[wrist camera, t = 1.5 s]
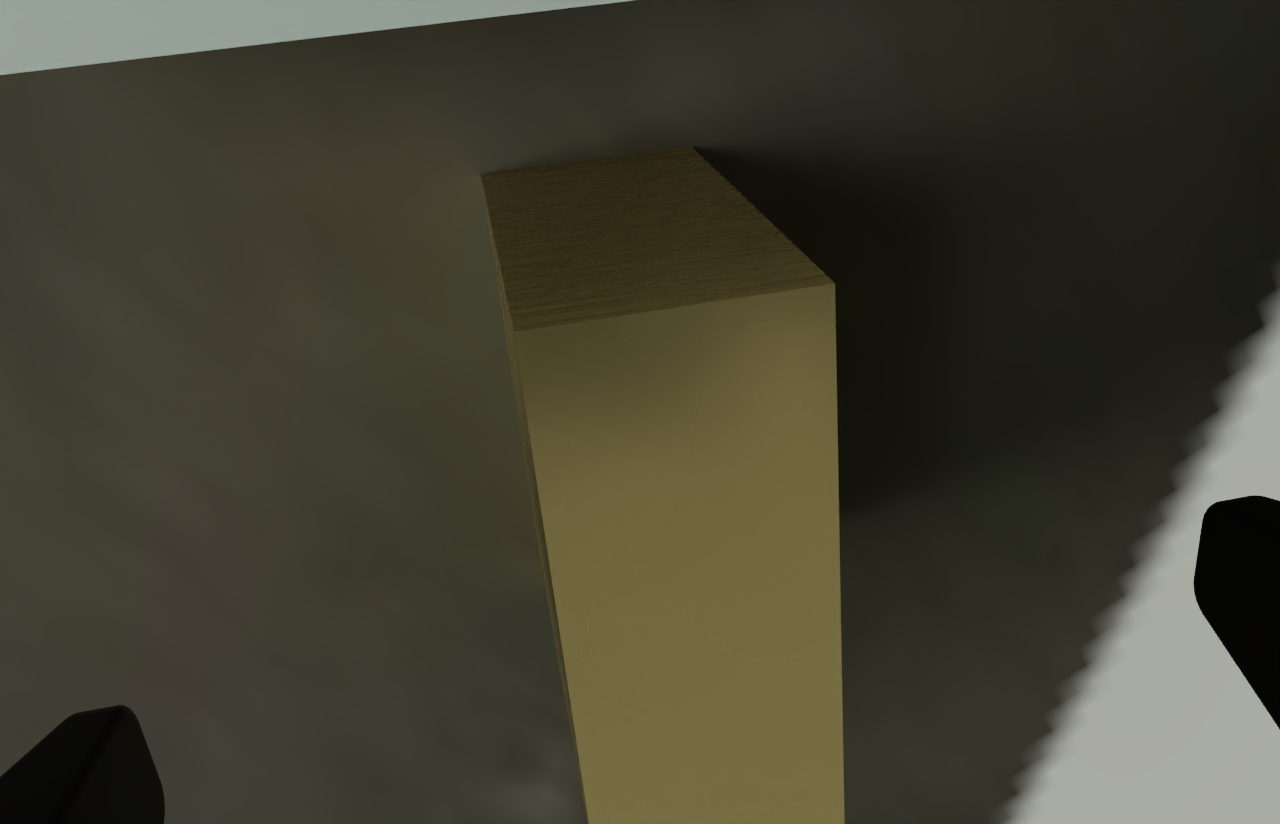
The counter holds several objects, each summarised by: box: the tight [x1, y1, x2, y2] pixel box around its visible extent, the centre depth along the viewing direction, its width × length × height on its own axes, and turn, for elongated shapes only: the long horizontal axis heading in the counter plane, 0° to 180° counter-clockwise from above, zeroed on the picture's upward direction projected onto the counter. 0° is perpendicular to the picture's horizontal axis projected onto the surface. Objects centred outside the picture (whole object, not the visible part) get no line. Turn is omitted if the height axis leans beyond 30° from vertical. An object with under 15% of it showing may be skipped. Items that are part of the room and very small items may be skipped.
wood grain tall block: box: [481, 146, 844, 824], centre depth 12 cm, size 6×2×5 cm, turn 5°
